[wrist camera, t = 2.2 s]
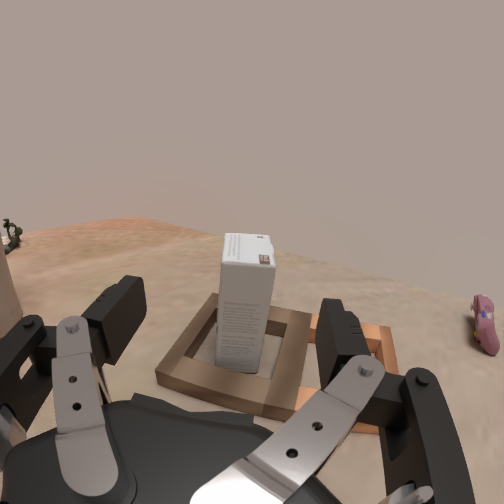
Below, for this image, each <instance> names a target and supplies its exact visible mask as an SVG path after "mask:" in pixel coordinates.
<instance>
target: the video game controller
mask: <svg viewBox="0 0 504 504" xmlns="http://www.w3.org/2000/svg"><path fill="white" fill-rule="evenodd" d="M470 308H471V310H472V308H473V310H474V312H475V330H476V331H475V332H474V336H476V341H480V342H481V344H482V346H483V348H484V349H485V351H486V352H487V353H488V354H490V355H495V354H497V353H498V351H499V349H500V343H499V340H498V337H497V335H496V332H495V326H494V315H493V312H494V305H493V303H492V301H491V300H490V299H488V297H487V295H485V296H484V295H482V294H481V295H475V296H474V302H473V305H472V303H471V305H470Z"/></svg>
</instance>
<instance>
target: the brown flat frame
mask: <svg viewBox="0 0 504 504" xmlns="http://www.w3.org/2000/svg"><path fill="white" fill-rule="evenodd" d="M218 298H219V294H216V293H212V294H211V296H210V297H209V298H208V300H207V301H206V302H205V304H204V305H203V306H202V308H201V309H200V310H199V312H198V313H197V314H196V316H195V317H194V318H193V320H192V321H191V322H190V323H189V325H188V326H187V327H186V329H185V330H184V331H183V333H182V334H181V336H180V337H179V338H178V340H177V341H176V342H175V344H174V345H173V346H172V348H171V349H170V350H169V352H168V353H167V354H166V356H165V357H164V358H163V360H162V361H161V362H160V364H159V365H158V366H157V368H156V369H155V373H156V378H157V382H158V384H159V385H162V386H165V387H167V388H170V389H172V390H175V391H178V392H181V393H183V394H186V395H189V396H192V397H195V398H198V399H201V400H204V401H207V402H210V403H214V404H217V405H220V406H224V407H227V408H231V409H234V410H238V411H242V412H245V413H249V414H253V415H257V416H262V417H266V418H270V419H275V420H280V421H284V422H286V421H287V420H289V419H290V418H291V417H292V416H293V415H294V414H295V413H296V412H297V411H298V410H299V409H300V408H301V407H302V406H303V405H304V404H305V403H306V402H307V401H308V399H309V398H310V397H311V396H312V395H313V394H314V393H315V392H316V391H317V390H319V389H314V388H309V387H303V386H300V381H301V376H302V371H303V366H304V360H305V355H306V349H307V343H308V342H311V343H315V331H316V325H317V321H318V317H319V315H315V314H310V313H305V312H300V311H295V310H290V309H285V308H280V307H275V306H270V308H269V313H268V319H267V324H266V329H265V333H267V334H272V335H277V336H281V337H284V338H283V342H282V345H281V349H280V352H279V356H278V359H277V363H276V366H275V369H274V373H273V376H272V379H271V380H269V379H265V378H261V377H256V376H252V375H248V374H244V373H240V372H237V371H233V370H229V369H225V368H222V367H218V366H215V365H211V364H208V363H205V362H201V361H198V360H195V359H192V358H193V356H194V355H195V353H196V351H197V350H198V348H199V347H200V345H201V344H202V342H203V340H204V339H205V337H206V336H207V334H208V333H209V331H210V329H211V328H212V326H213V325H214V323H215V322H216V321H217V314H218ZM360 325H361V328H362V330H363V335H364V336H365V339H366V342H367V345H368V348H369V351H370V352H372V353H375V355H376V359H377V360H379V361H380V362H381V363H382V365H383V366H384V369H385V371H386V372H389V373H392V374H397V375H399V371H398V366H397V360H396V355H395V349H394V344H393V339H392V334H391V330H390V327H386V326H379V325H373V324H367V323H361V322H360ZM351 432H360V433H373V434H379V430H378V426H374V425H369V424H365V423H360V422H357V424H356V425H355V427H354V428H353V429H352V431H351Z"/></svg>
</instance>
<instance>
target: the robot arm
mask: <svg viewBox="0 0 504 504" xmlns="http://www.w3.org/2000/svg"><path fill="white" fill-rule="evenodd" d="M146 311H147V305H146V298H145V291H144V283H143V279H142V278H141V277H136V276H130V275H125V276H124V277H123V278H122V279H121V280H120V281H119V282H118V284H114V285H112V286H110V287H108V288H107V289H105V290H104V292H103V293H102V294H101V295H100V296H99V297H98V298H97V299H96V301H94V302H93V303H92V304H91V305H90V306H89V307H88V308H87V309H86V311H85V312H84V313H83V314H82V315H81V316H71V317H67V318H65V319H63V320H62V321H61V322H60V323H59V324H58V325H57V326H45V325H44V323H43V320H42V318H41V317H40V316H38V315H28V316H25V317H23V318H22V319H21V317H22V309H21V306H20V303H19V300H18V297H17V294H16V291H15V288H14V285H13V281H12V278H11V274H10V271H9V267H8V263H7V260H6V256H5V251H4V247H3V243H2V238H1V233H0V338H2V337H3V338H2V340H1V341H0V472H2V473H3V488H2V495H1V500H0V504H342V503H341V502H340V501H339V500H338V499H337V498H336V497H335V496H334V495H333V494H332V493H331V492H330V491H329V490H328V489H327V488H326V487H325V486H324V485H323V484H322V483H321V482H320V481H319V480H318V478H317V477H316V476H317V475H318V474H319V472H320V471H321V470H322V469H323V468H324V466H325V465H326V464H327V463H328V461H329V460H330V459H331V457H332V456H333V455H334V454H335V452H336V451H337V450H338V448H339V447H340V446H341V444H342V443H343V442H344V440H345V439H346V438H347V436H348V435H349V434H350V432H351V431H352V429H353V428H354V427H355V425H356V424H357V422H360V423H365V424H369V425H374V426H378V430H379V436H380V443H381V450H382V458H383V466H384V475H385V485H386V496H387V497H386V498H384V499H383V500H382V501H380V502H379V503H378V504H476V503H475V498H474V493H473V489H472V484H471V480H470V476H469V472H468V468H467V464H466V461H465V457H464V453H463V450H462V447H461V443H460V440H459V437H458V434H457V431H456V428H455V425H454V422H453V419H452V416H451V413H450V411H449V408H448V405H447V403H446V400H445V397H444V395H443V392H442V390H441V387H440V385H439V382H438V380H437V378H436V376H435V375H434V374H433V373H432V372H430V371H429V370H427V369H424V368H418V367H417V368H412V369H410V370H409V371H408V372H407V373H406V375H405V376H401V375H397V374H392V373H389V372H386V371H385V369H384V366H383V365H382V363H381V362H380V361H379V360H377V359H376V358H374V357H372V356H371V353H370V351H369V348H368V345H367V342H366V339H365V336H364V335H363V330H362V328H361V325H360V322H359V319H358V318H357V317H356V316H355V315H354V314H353V313H352V312H351V311H345V310H344V307H343V304H342V301H341V300H340V299H329V298H324V299H323V301H322V304H321V309H320V313H319V317H318V321H317V325H316V331H315V344H316V351H317V359H318V367H319V375H320V383H321V389H319V390H317V391H316V392H315V393H314V394H313V395H312V396H311V397H310V398H309V399H308V401H307V402H306V403H305V404H304V405H303V406H302V407H301V408H300V409H299V410H298V411H297V412H296V413H295V414H294V415H293V416H292V417H291V418H290V419H289V420H287V421H286V422H285V423H284V424H283V425H282V426H281V427H280V428H279V429H278V430H277V431H276V432H275V433H273V432H272V431H270V430H268V429H266V428H264V427H262V426H260V425H257V424H254V423H253V418H254V415H250V414H241V413H233V412H226V411H214V412H188V411H185V410H183V409H181V408H179V407H176V406H174V405H172V404H170V403H168V402H166V401H164V400H161V399H157V398H153V397H149V396H145V395H142V394H138V393H134V395H133V397H132V399H131V400H122V401H115V402H112V401H111V398H110V394H109V390H108V387H107V383H106V379H105V375H104V371H103V368H102V366H103V365H104V363H107V364H110V365H114V366H115V364H116V362H117V361H118V359H119V358H120V356H121V354H122V353H123V351H124V350H125V348H126V346H127V345H128V343H129V342H130V340H131V339H132V337H133V335H134V334H135V332H136V331H137V329H138V328H139V326H140V325H141V323H142V322H143V320H144V318H145V316H146ZM28 357H29V358H30V360H31V362H32V366H31V367H30V368H29V370H28V371H27V373H26V374H25V375H24V377H23V378H22V379H20V376H19V370H20V367H21V366H22V364H23V363H24V362H25V360H26V359H27V358H28ZM52 388H53V396H54V407H55V415H56V423H57V427H56V428H53V429H51V430H49V431H47V432H44V433H42V434H40V435H37V436H35V437H32V438H30V439H28V440H26V432H27V431H28V429H29V427H30V425H31V423H32V422H33V420H34V418H35V416H36V415H37V413H38V411H39V409H40V408H41V406H42V404H43V403H44V401H45V399H46V398H47V396H48V395H49V393H50V391H51V390H52Z"/></svg>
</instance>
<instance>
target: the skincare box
mask: <svg viewBox="0 0 504 504" xmlns="http://www.w3.org/2000/svg"><path fill="white" fill-rule="evenodd" d="M273 253H274V248H273V246H272V244H271V240H270V236H268V235H259V234H239V233H226V234H225V238H224V245H223V252H222V262H221V276H220V286H219V298H218V314H217V334H216V357H215V366H218V367H222V368H225V369H229V370H233V371H237V372H240V373H256V372H257V371H258V367H259V362H260V356H261V351H262V346H263V340H264V335H265V329H266V324H267V319H268V313H269V308H270V302H271V296H272V290H273V284H274V278H275V272H276V264H275V259H274V254H273Z"/></svg>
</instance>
